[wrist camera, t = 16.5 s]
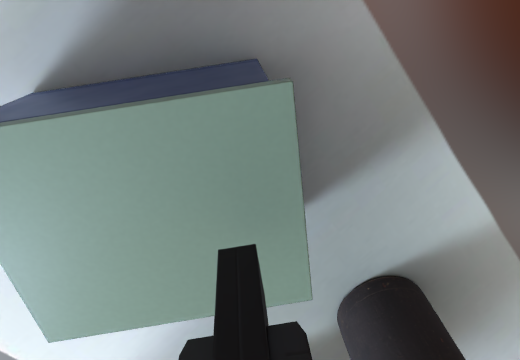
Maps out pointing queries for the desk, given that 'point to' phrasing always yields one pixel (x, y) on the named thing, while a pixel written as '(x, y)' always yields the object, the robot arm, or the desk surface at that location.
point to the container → (393, 323)
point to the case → (133, 90)
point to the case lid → (151, 207)
